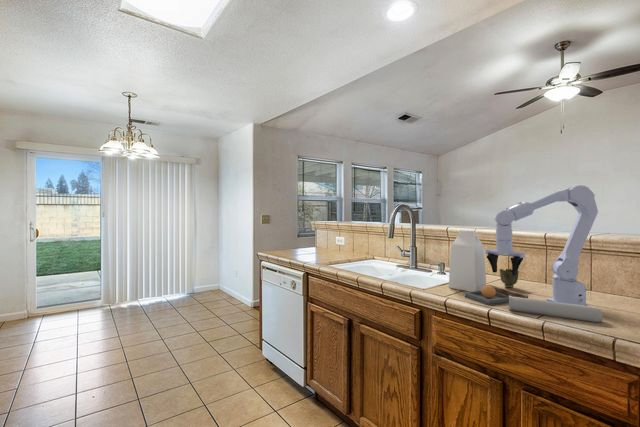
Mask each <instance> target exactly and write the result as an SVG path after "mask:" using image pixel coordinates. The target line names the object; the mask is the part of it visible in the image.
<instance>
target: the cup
mask: <svg viewBox="0 0 640 427" xmlns="http://www.w3.org/2000/svg"><path fill="white" fill-rule="evenodd" d="M519 272H520V271H519V270H518V271H517V275H512V268H509V269H508V268H506V269H505V270H504V268H500V269H499V275H500V276H499V277H500V281H501V283H502V284H504V287H505V289H513V288H514V287H515V285H516V284H517V282H518V279H519Z"/></svg>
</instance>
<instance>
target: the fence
mask: <svg viewBox="0 0 640 427" xmlns="http://www.w3.org/2000/svg"><path fill="white" fill-rule="evenodd" d="M489 285H490V286H492V287H494V288H495V290H496V292H497V293H500V294H504V295H507V296H509V295H510V296H512V297H520V298H528V299H529V295H527V294H524V293H520V292H517V291H513V290H509V289H507V288H502V287H498V286H494V285H491V284H489Z"/></svg>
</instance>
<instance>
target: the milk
mask: <svg viewBox="0 0 640 427" xmlns="http://www.w3.org/2000/svg"><path fill="white" fill-rule="evenodd" d="M458 232H459V233H458V235H457V236H456V238H455V240H454V241H453V242H452V244H451V246H450V254H449V255H450V257H449V276H448V288H450V289H455V290H460V289H461V290H462V291H466V292H474V291H481V290H482V288H483V286H485V285H487V276H486V275H487V273H486V258H485V247H484V245H483V243H482V241H481V240H480V239H479V237H478V236H477V233H476V231H475V230H465V229H464V230H463V229H462V230H459V231H458ZM461 290H460V291H461Z"/></svg>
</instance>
